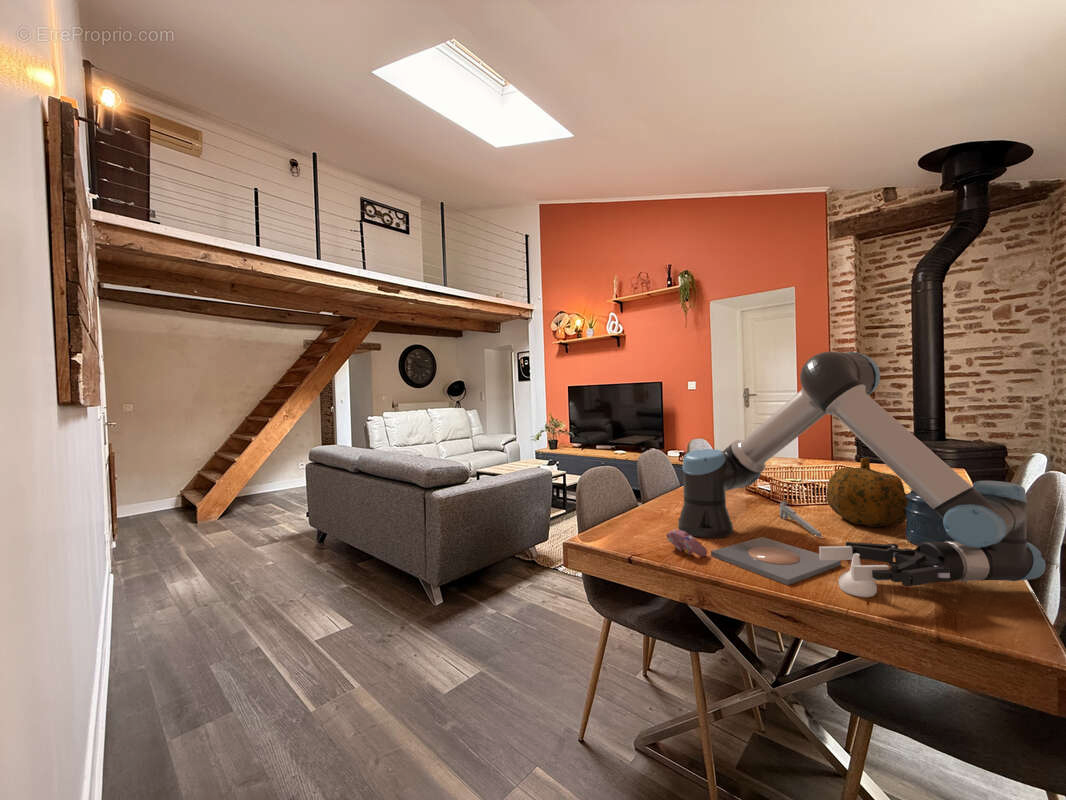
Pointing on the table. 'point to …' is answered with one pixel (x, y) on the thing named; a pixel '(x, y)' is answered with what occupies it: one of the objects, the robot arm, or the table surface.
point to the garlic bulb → (856, 582)
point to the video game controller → (686, 543)
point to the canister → (923, 522)
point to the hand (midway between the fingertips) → (835, 562)
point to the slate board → (775, 560)
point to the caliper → (796, 518)
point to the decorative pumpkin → (867, 496)
